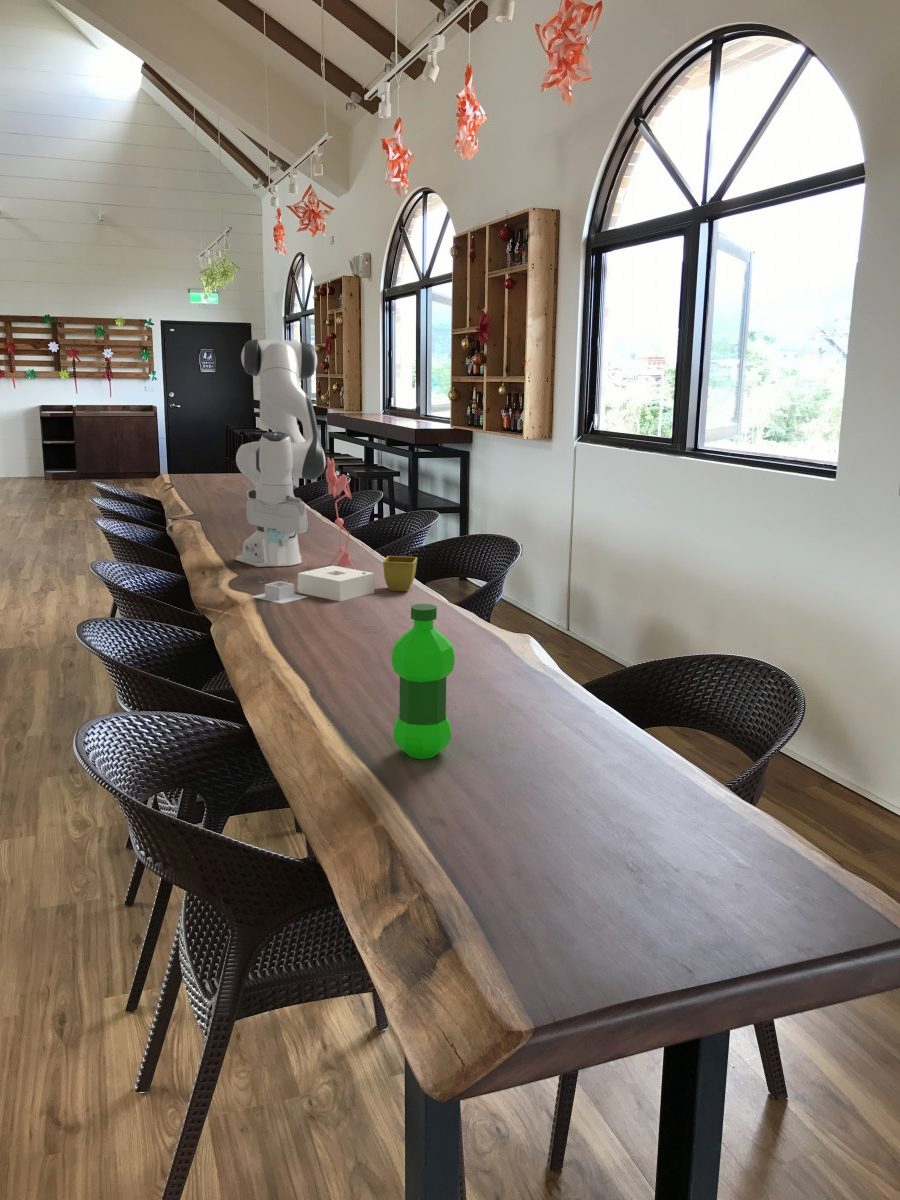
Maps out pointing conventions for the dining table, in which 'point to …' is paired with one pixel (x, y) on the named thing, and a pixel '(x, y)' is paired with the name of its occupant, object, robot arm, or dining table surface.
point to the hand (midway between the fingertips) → (277, 544)
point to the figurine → (340, 483)
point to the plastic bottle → (422, 685)
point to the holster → (279, 593)
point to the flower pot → (399, 572)
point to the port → (336, 583)
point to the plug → (276, 548)
